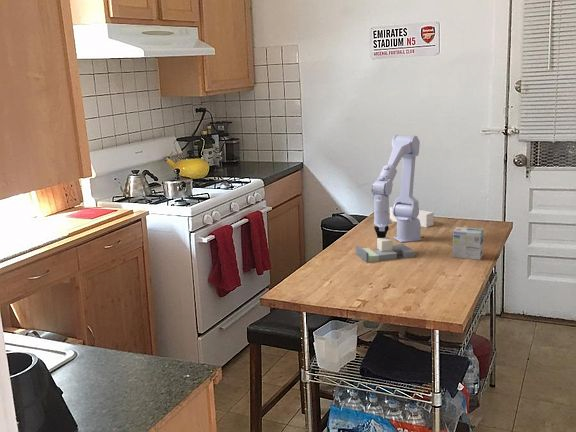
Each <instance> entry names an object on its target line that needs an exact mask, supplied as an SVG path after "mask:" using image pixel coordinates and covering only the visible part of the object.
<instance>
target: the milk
mask: <svg viewBox="0 0 576 432" xmlns="http://www.w3.org/2000/svg"><path fill="white" fill-rule="evenodd" d="M434 214H435V213H434V211H427V210H422V209H419V215H418V217H417V218H418V219H419V220H420V224H421V228H429V227H431V226H434V220H435V219H434ZM389 220H391V221H392V223H393V222H394V223H397V219H396V217H395V216H394V215H393V206H389Z"/></svg>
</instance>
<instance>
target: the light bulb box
mask: <svg viewBox="0 0 576 432" xmlns="http://www.w3.org/2000/svg"><path fill="white" fill-rule="evenodd" d="M451 254H452V256H451V257H452V258H456V259H457V258H458V259H466V260H468V259H469V260H477V261H478V260H481V259H482V258H483V256H484V228H474V227H462V226H456V227H455V228H454V229H453V230H452V253H451Z"/></svg>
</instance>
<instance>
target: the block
mask: <svg viewBox="0 0 576 432" xmlns="http://www.w3.org/2000/svg"><path fill="white" fill-rule="evenodd" d="M376 238H377V237H376ZM376 240H377V241H376V243H377V244H376V247H377V248H378V249H379V250H380V251H391V250H392V245H394V244H393V241H394V240H393V239H391V238H390V237H388V236H386V237H385V238H377V239H376Z"/></svg>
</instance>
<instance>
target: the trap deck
mask: <svg viewBox="0 0 576 432" xmlns="http://www.w3.org/2000/svg"><path fill="white" fill-rule="evenodd" d="M355 255H356V256H358V258H360V260H361V259H362V261H364V262H365V263H372V262H373V263H374V262H381V261H391V260H400V259H407V258H415V256H416V251H415V250H413V249H412V248H410V247H409V246H407V245H405V244H404V243H400V244H393V245H392V250H391V251H380V250H379V249H378V248H377V246H376V247H375V250H372V249H370V248H369V247H363V248H362V247H361V246H360V245H358V244H357V245H355Z"/></svg>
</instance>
